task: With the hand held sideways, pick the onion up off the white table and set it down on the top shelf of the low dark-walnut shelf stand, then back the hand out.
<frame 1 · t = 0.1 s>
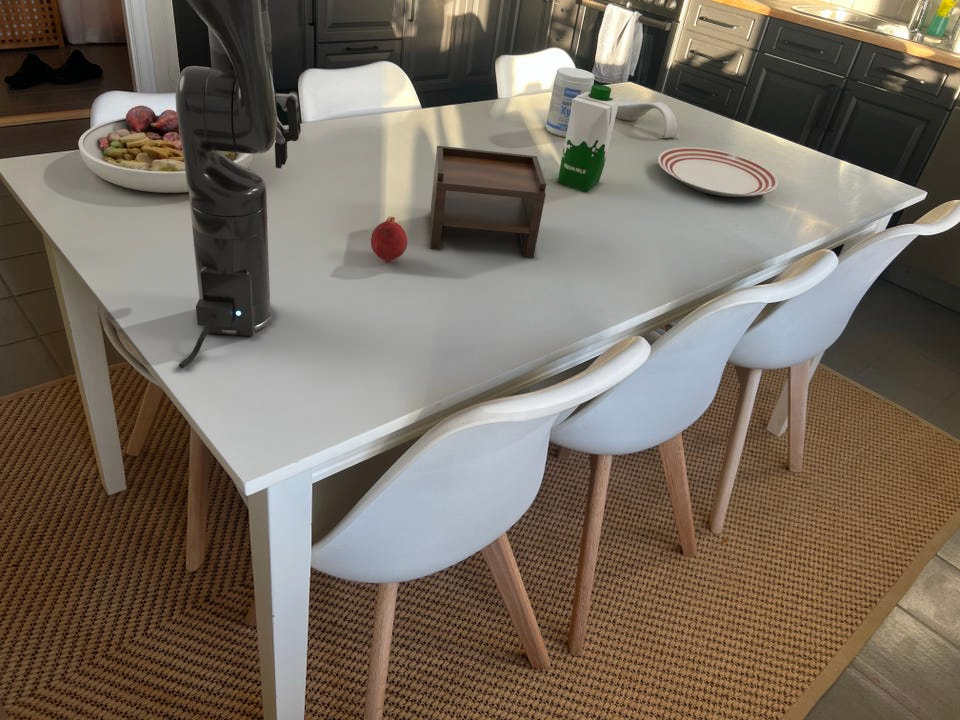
hand: (248, 162, 106), 17 cm above the table, tool pointing down, fingers open, 8 cm apart
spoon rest: (639, 124, 205), on the table
shelf stand: (480, 235, 136), on the table
milk carton: (577, 184, 163), on the table
supplement tub: (563, 132, 191), on the table
dinner plate: (713, 182, 175), on the table
onion: (387, 262, 123), on the table
bowl: (171, 168, 143), on the table
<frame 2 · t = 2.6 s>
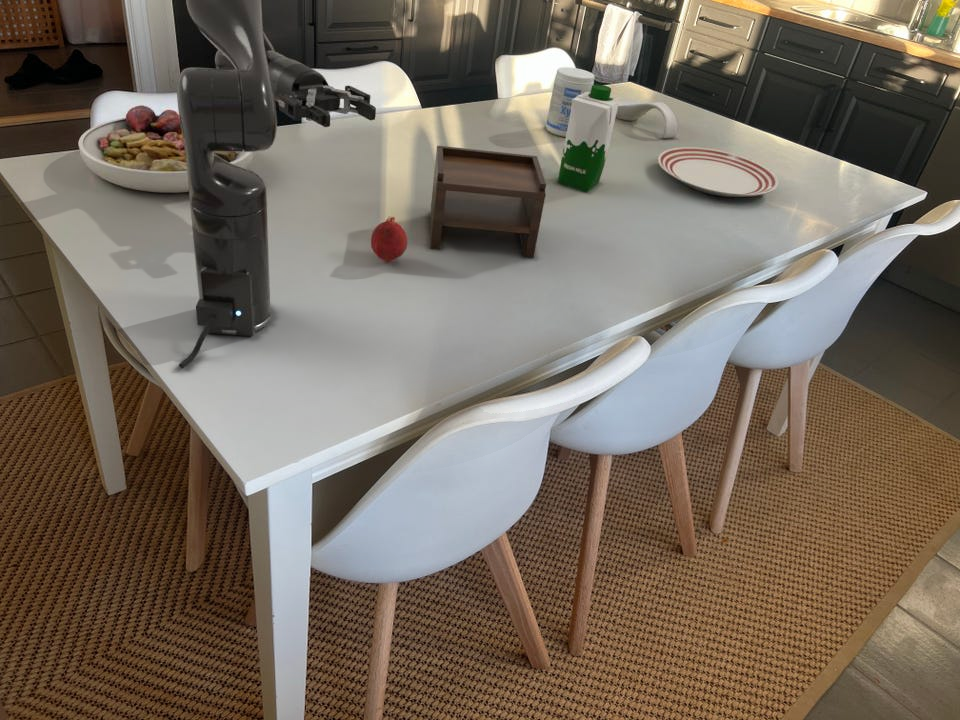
hand: (351, 117, 118), 20 cm above the table, tool horizontal, fingers open, 8 cm apart
nothing on the table moved.
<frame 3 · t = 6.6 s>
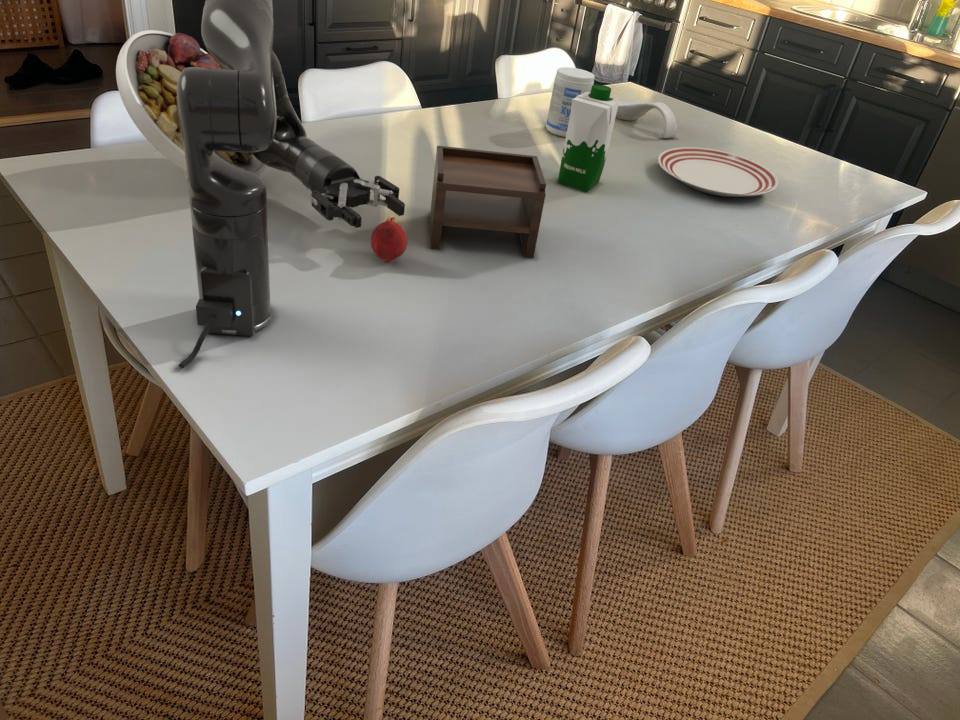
hand: (381, 216, 122), 6 cm above the table, tool horizontal, fingers open, 8 cm apart
bowl: (185, 121, 137), point 9 cm above the table, touching arm
everything else where it was.
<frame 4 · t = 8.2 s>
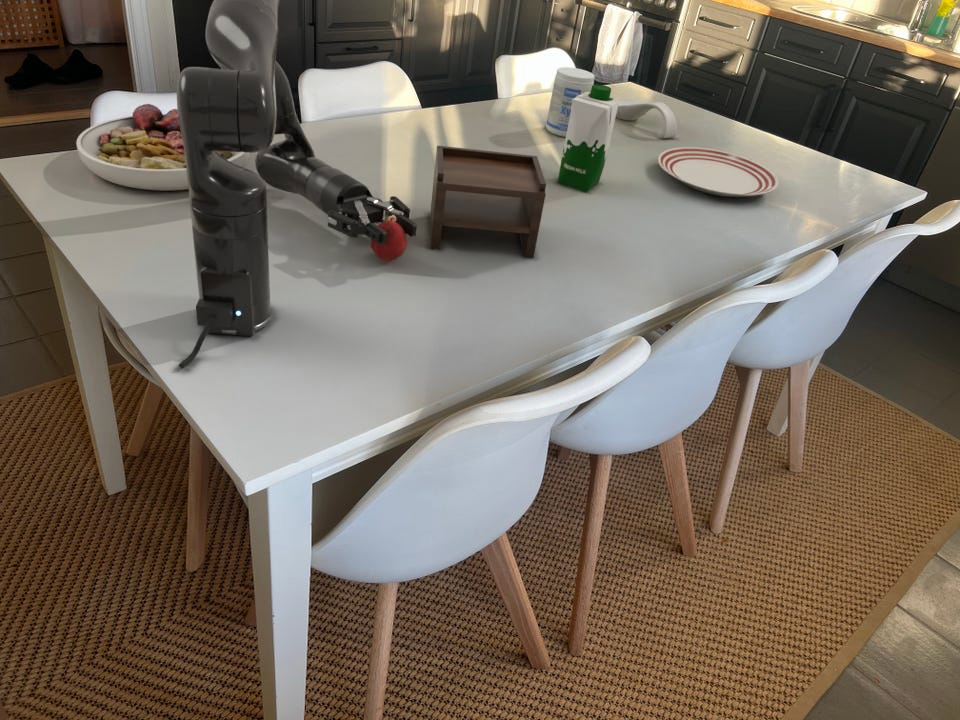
hand: (399, 234, 119), 6 cm above the table, tool horizontal, fingers closed on onion, 5 cm apart
onion: (387, 262, 123), on the table, touching gripper
bowl: (169, 166, 144), on the table
everything else where it was.
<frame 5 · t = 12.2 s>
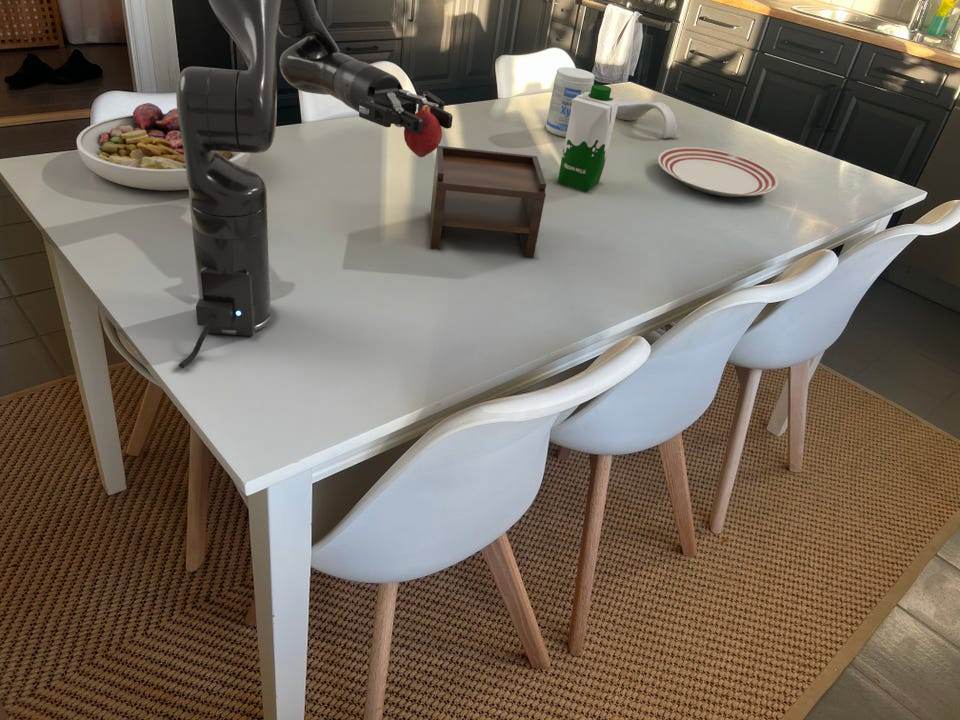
hand: (435, 124, 113), 23 cm above the table, tool horizontal, fingers closed on onion, 5 cm apart
onion: (420, 158, 118), point 17 cm above the table, touching gripper
everything else where it was.
when the fingers open (18 cm above the table, at t = 16.2 s): onion stays where it is, resting on shelf stand.
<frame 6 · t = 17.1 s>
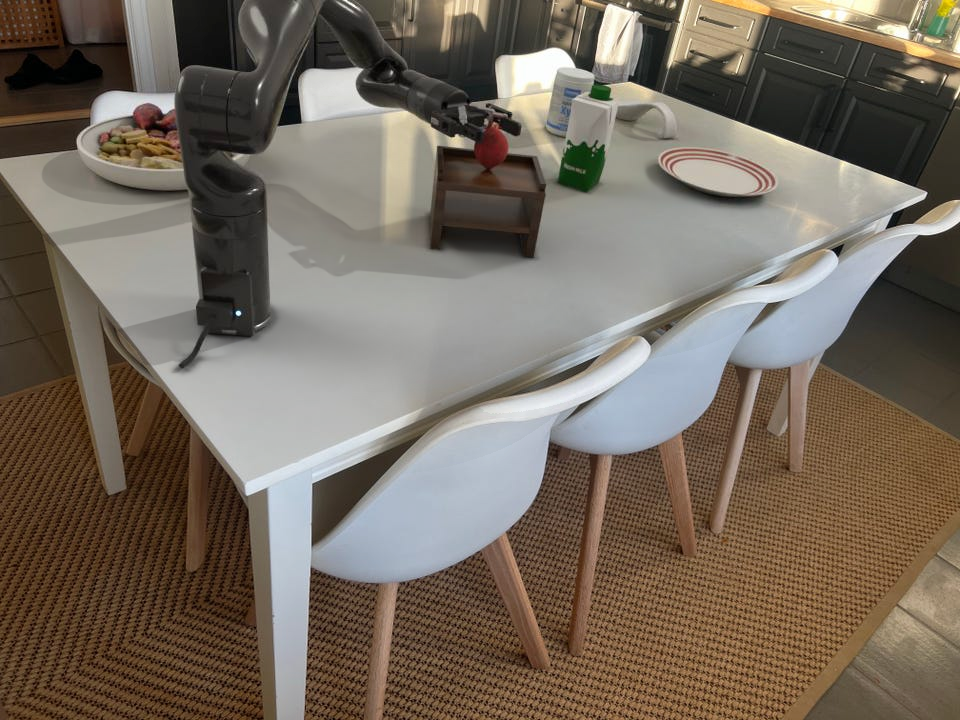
hand: (501, 133, 125), 19 cm above the table, tool horizontal, fingers open, 8 cm apart
onion: (488, 170, 130), point 12 cm above the table, touching shelf stand
everything else where it was.
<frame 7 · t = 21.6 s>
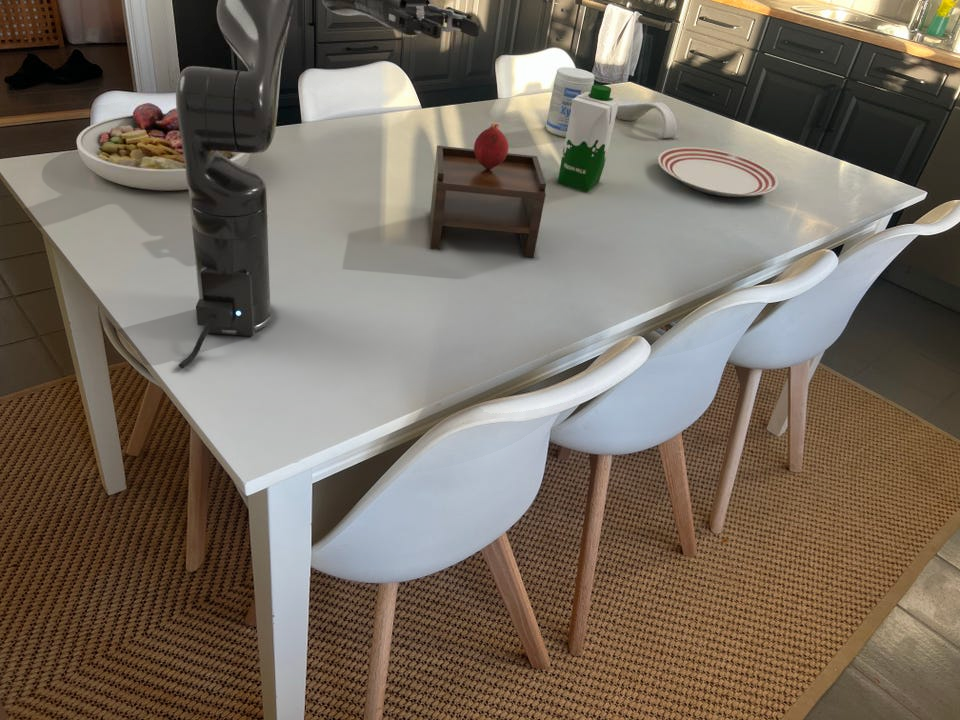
hand: (459, 31, 124), 32 cm above the table, tool horizontal, fingers open, 8 cm apart
nothing on the table moved.
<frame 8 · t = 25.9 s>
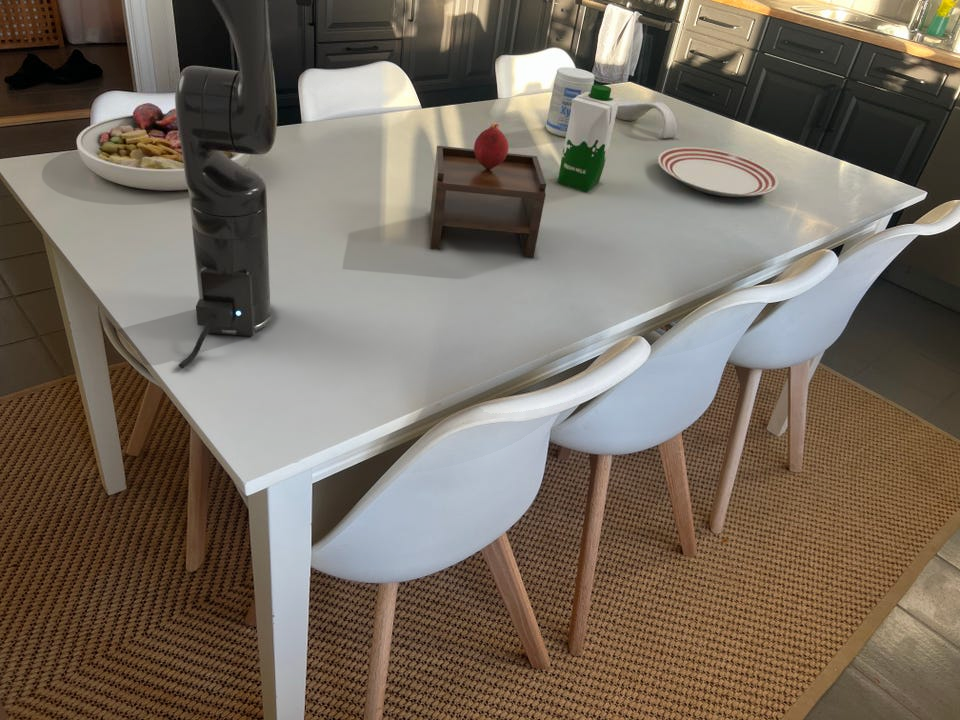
nothing on the table moved.
at the end: onion inside the target area on the shelf stand (1.1 cm from its centre), point 11.8 cm above the shelf stand's base; onion tilted 0°; the gripper is holding nothing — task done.
